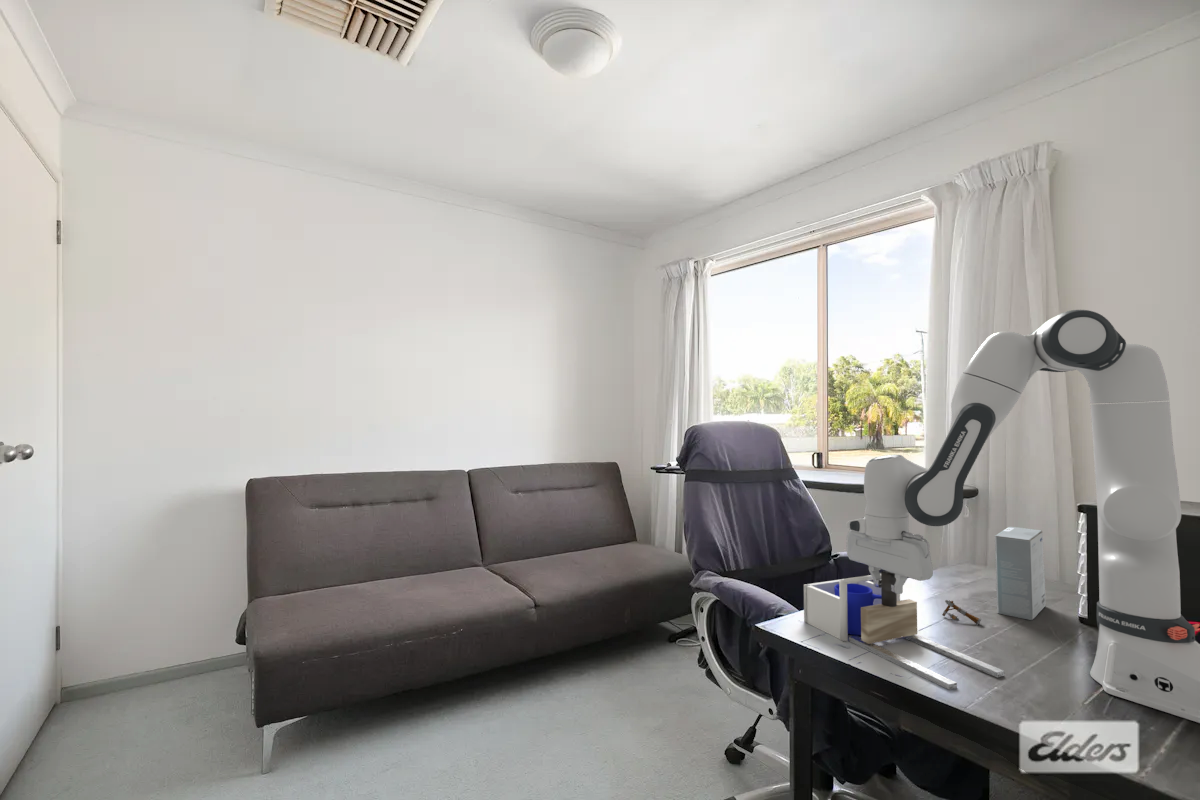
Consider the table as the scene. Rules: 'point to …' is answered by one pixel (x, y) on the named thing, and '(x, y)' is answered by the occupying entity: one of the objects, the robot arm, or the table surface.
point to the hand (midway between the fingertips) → (887, 589)
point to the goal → (833, 604)
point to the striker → (888, 615)
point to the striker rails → (922, 670)
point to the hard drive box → (1020, 572)
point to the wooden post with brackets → (950, 603)
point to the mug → (857, 604)
